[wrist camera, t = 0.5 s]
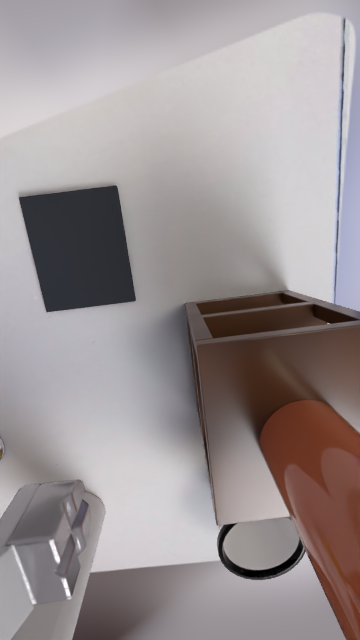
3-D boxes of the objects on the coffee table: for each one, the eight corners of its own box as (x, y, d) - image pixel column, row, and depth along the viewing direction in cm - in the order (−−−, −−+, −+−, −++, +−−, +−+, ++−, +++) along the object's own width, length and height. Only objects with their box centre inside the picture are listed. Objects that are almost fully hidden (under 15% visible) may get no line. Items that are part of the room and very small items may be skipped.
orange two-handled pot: (256, 394, 17) (362, 568, 8) (346, 383, 17) (565, 543, 8) (262, 494, 19) (354, 737, 10) (343, 484, 19) (517, 717, 10)
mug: (214, 443, 36) (227, 505, 27) (283, 451, 36) (319, 515, 27) (197, 516, 38) (205, 594, 29) (262, 523, 39) (289, 601, 30)
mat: (21, 198, 28) (18, 197, 28) (117, 186, 28) (116, 185, 28) (48, 311, 31) (46, 312, 30) (135, 300, 31) (135, 301, 30)
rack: (184, 303, 31) (196, 345, 17) (288, 290, 31) (391, 320, 17) (197, 411, 34) (216, 526, 20) (291, 399, 34) (379, 505, 20)
